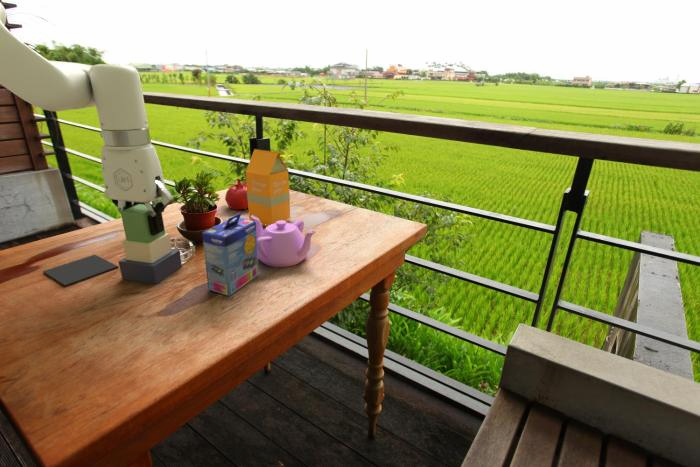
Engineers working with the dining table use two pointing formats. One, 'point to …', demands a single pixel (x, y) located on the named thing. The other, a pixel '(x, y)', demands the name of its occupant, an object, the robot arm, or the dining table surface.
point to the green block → (138, 224)
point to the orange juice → (267, 187)
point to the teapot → (282, 243)
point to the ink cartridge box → (230, 254)
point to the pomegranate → (237, 196)
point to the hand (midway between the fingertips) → (145, 230)
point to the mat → (80, 270)
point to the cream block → (148, 249)
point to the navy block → (151, 268)
